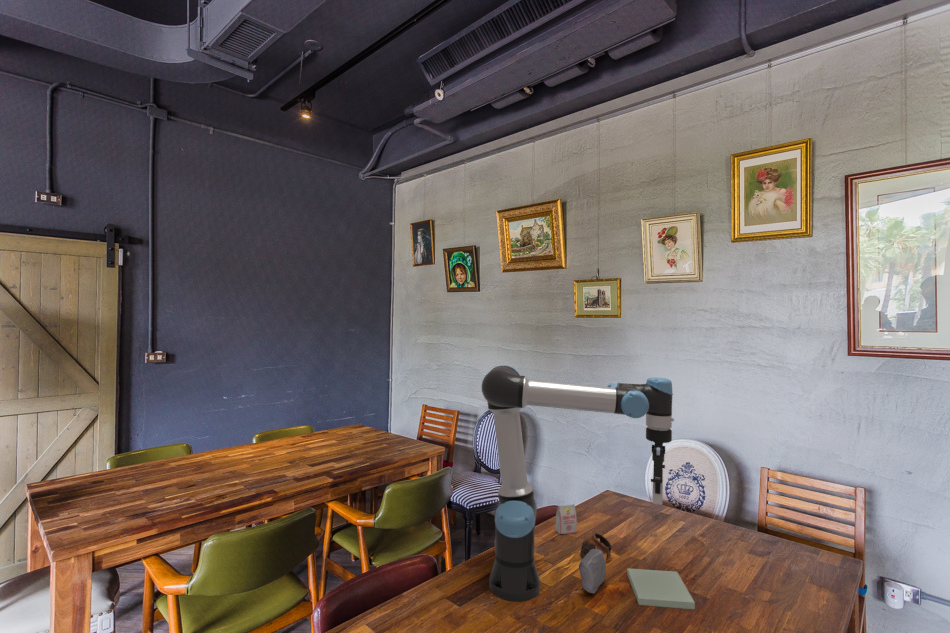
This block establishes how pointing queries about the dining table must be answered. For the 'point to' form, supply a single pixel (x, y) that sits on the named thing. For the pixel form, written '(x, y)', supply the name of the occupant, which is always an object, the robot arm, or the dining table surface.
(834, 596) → the dining table surface
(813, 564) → the dining table surface
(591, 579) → the stone block
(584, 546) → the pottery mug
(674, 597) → the base
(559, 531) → the white food box
